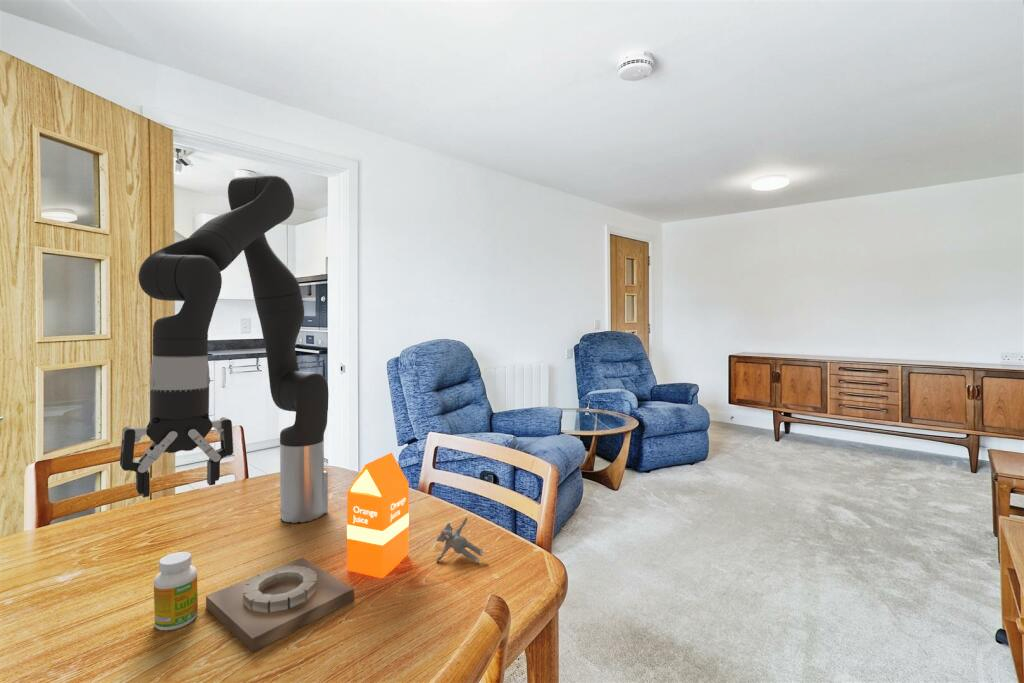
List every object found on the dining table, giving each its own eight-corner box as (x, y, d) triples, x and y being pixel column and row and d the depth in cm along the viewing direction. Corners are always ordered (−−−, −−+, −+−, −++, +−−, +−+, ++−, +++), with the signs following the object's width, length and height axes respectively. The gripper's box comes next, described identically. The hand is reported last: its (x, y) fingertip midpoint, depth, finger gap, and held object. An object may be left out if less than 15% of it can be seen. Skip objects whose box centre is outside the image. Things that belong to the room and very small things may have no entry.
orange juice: (409, 555, 95) (409, 454, 94) (382, 578, 86) (383, 467, 85) (374, 548, 97) (375, 449, 96) (346, 570, 89) (345, 462, 88)
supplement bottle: (176, 634, 71) (174, 569, 70) (145, 628, 72) (143, 564, 71) (206, 612, 76) (205, 551, 75) (177, 607, 77) (176, 547, 77)
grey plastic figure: (463, 577, 88) (423, 550, 91) (466, 586, 92) (428, 560, 96) (494, 529, 93) (455, 505, 96) (495, 540, 98) (459, 517, 101)
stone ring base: (302, 567, 90) (302, 549, 89) (354, 600, 80) (354, 579, 80) (206, 607, 77) (205, 586, 77) (252, 652, 67) (252, 628, 67)
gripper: (225, 380, 83) (224, 475, 83) (118, 385, 73) (117, 493, 73) (239, 384, 77) (237, 486, 78) (125, 390, 67) (124, 507, 68)
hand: (179, 489), depth 75 cm, fingers open, 8 cm apart
